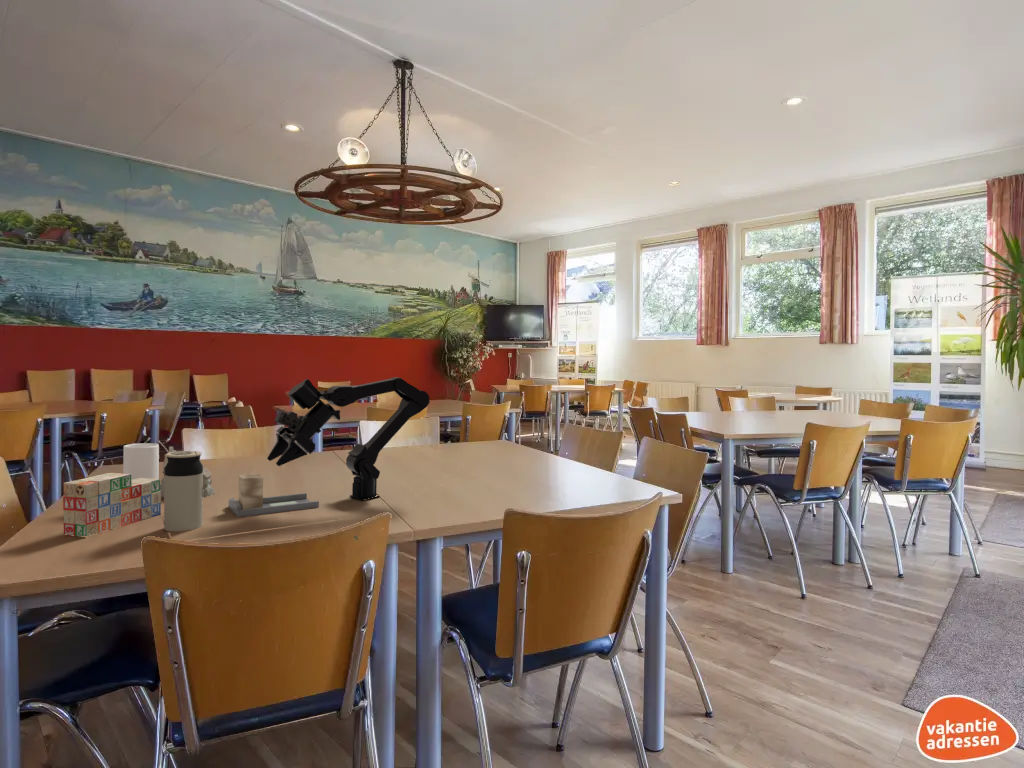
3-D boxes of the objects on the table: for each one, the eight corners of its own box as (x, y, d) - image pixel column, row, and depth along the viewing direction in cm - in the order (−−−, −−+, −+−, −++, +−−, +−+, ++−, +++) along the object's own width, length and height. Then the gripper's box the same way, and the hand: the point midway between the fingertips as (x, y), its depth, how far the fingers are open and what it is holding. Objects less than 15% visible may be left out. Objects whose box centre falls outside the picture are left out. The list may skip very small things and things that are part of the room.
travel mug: (161, 534, 135) (162, 456, 134) (166, 525, 142) (167, 451, 141) (200, 531, 138) (201, 455, 137) (203, 522, 145) (204, 450, 145)
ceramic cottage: (202, 499, 168) (202, 446, 168) (145, 499, 168) (145, 447, 168) (229, 490, 183) (229, 442, 184) (177, 491, 184) (177, 443, 184)
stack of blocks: (140, 512, 153) (140, 465, 152) (161, 514, 152) (161, 467, 151) (62, 536, 132) (62, 481, 131) (86, 538, 131) (86, 483, 130)
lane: (305, 499, 171) (305, 489, 171) (318, 508, 161) (319, 497, 161) (228, 508, 159) (228, 497, 159) (237, 518, 149) (238, 507, 149)
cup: (133, 499, 166) (134, 442, 166) (164, 499, 167) (164, 443, 166) (116, 506, 158) (116, 447, 157) (148, 506, 159) (149, 447, 158)
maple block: (258, 506, 160) (258, 473, 160) (262, 510, 156) (263, 476, 156) (238, 508, 157) (238, 475, 157) (242, 512, 153) (242, 478, 153)
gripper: (284, 398, 170) (242, 438, 163) (303, 403, 154) (258, 447, 148) (311, 424, 174) (272, 464, 168) (332, 431, 159) (290, 475, 153)
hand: (272, 462), depth 159 cm, fingers open, 9 cm apart
